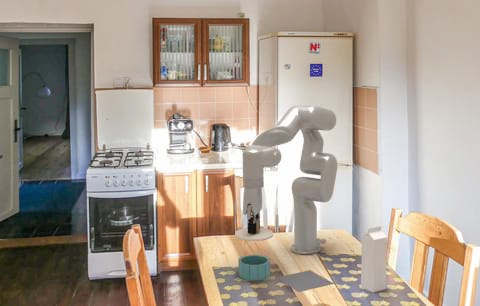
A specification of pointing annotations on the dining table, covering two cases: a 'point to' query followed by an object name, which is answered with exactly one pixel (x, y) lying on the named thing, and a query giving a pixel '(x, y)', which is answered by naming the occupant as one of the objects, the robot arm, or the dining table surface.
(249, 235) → the lid
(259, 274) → the bowl
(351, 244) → the dining table surface
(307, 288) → the mat
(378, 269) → the milk
